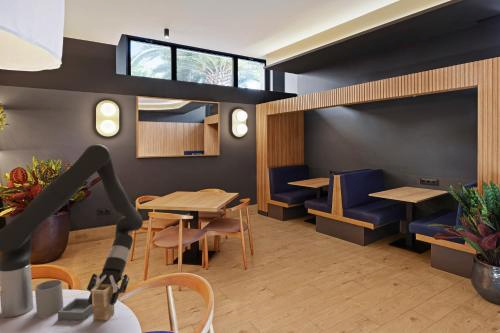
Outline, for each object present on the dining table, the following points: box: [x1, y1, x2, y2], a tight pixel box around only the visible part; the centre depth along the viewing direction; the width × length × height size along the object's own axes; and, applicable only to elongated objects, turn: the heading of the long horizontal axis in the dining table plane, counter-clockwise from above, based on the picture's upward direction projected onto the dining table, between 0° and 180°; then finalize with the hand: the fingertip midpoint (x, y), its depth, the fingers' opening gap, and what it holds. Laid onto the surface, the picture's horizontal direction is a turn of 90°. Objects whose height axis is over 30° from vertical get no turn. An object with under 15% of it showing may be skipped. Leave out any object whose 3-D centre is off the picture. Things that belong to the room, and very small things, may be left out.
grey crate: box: [57, 297, 93, 322], centre depth 110 cm, size 10×10×3 cm
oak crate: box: [92, 284, 115, 322], centre depth 107 cm, size 5×5×11 cm
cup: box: [34, 279, 64, 318], centre depth 112 cm, size 8×8×10 cm
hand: (100, 304), depth 105 cm, fingers open, 7 cm apart
